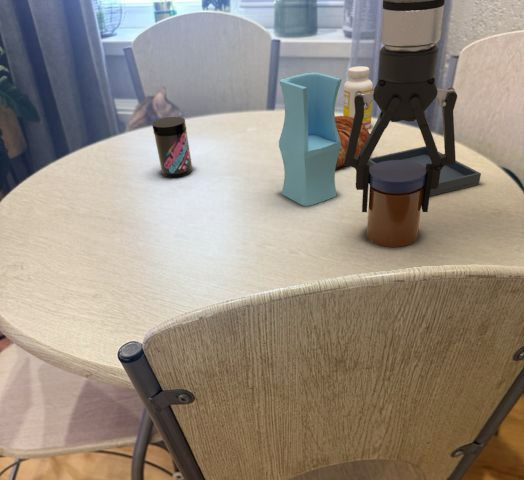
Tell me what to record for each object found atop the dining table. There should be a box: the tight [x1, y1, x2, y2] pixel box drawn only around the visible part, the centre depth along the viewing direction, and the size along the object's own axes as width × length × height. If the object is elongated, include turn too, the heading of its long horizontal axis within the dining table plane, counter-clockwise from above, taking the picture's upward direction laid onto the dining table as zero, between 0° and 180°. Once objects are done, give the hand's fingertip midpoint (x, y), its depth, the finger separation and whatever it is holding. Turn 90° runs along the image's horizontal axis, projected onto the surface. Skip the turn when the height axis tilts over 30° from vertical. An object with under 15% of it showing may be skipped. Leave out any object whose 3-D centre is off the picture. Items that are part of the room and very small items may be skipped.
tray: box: [366, 145, 482, 197], centre depth 103 cm, size 17×14×2 cm
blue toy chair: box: [278, 71, 342, 207], centre depth 94 cm, size 8×8×20 cm
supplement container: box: [151, 116, 193, 178], centre depth 111 cm, size 7×7×10 cm
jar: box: [366, 185, 424, 248], centre depth 83 cm, size 8×8×10 cm
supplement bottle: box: [342, 65, 374, 130], centre depth 125 cm, size 7×7×13 cm
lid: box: [368, 160, 427, 193], centre depth 80 cm, size 9×8×2 cm
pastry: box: [335, 115, 371, 171], centre depth 112 cm, size 17×15×8 cm
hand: (394, 208), depth 83 cm, fingers closed on lid, 8 cm apart
